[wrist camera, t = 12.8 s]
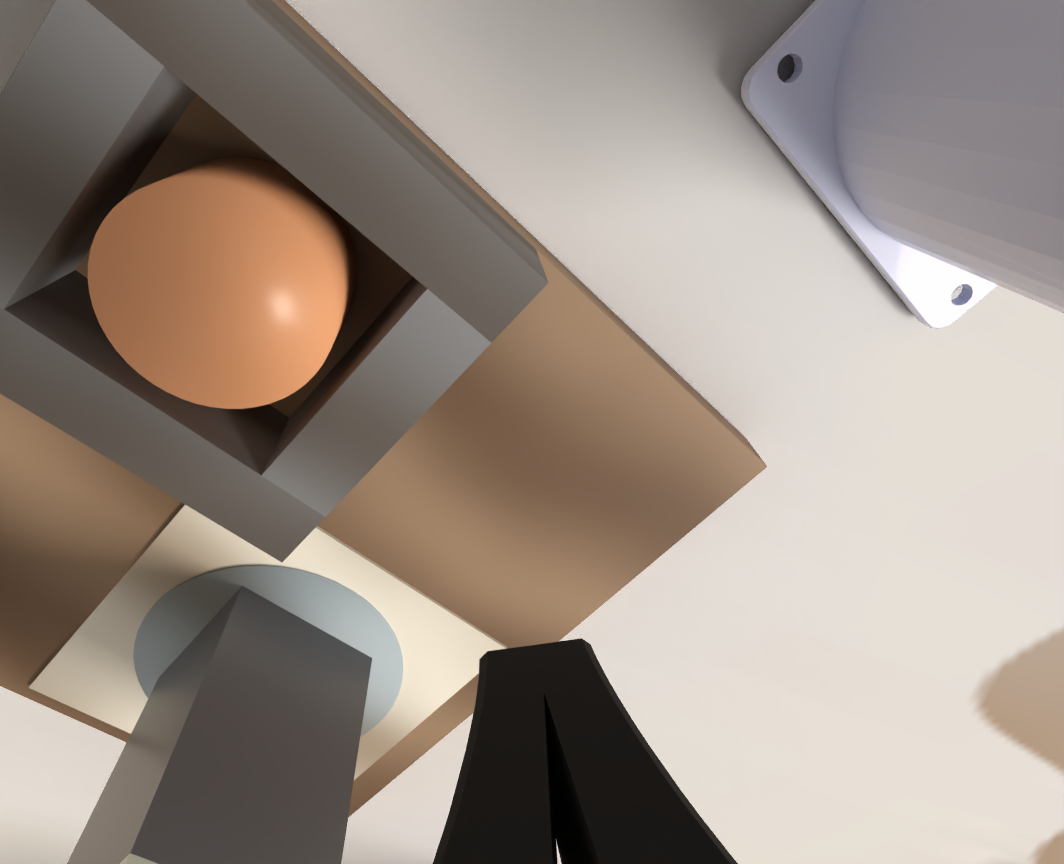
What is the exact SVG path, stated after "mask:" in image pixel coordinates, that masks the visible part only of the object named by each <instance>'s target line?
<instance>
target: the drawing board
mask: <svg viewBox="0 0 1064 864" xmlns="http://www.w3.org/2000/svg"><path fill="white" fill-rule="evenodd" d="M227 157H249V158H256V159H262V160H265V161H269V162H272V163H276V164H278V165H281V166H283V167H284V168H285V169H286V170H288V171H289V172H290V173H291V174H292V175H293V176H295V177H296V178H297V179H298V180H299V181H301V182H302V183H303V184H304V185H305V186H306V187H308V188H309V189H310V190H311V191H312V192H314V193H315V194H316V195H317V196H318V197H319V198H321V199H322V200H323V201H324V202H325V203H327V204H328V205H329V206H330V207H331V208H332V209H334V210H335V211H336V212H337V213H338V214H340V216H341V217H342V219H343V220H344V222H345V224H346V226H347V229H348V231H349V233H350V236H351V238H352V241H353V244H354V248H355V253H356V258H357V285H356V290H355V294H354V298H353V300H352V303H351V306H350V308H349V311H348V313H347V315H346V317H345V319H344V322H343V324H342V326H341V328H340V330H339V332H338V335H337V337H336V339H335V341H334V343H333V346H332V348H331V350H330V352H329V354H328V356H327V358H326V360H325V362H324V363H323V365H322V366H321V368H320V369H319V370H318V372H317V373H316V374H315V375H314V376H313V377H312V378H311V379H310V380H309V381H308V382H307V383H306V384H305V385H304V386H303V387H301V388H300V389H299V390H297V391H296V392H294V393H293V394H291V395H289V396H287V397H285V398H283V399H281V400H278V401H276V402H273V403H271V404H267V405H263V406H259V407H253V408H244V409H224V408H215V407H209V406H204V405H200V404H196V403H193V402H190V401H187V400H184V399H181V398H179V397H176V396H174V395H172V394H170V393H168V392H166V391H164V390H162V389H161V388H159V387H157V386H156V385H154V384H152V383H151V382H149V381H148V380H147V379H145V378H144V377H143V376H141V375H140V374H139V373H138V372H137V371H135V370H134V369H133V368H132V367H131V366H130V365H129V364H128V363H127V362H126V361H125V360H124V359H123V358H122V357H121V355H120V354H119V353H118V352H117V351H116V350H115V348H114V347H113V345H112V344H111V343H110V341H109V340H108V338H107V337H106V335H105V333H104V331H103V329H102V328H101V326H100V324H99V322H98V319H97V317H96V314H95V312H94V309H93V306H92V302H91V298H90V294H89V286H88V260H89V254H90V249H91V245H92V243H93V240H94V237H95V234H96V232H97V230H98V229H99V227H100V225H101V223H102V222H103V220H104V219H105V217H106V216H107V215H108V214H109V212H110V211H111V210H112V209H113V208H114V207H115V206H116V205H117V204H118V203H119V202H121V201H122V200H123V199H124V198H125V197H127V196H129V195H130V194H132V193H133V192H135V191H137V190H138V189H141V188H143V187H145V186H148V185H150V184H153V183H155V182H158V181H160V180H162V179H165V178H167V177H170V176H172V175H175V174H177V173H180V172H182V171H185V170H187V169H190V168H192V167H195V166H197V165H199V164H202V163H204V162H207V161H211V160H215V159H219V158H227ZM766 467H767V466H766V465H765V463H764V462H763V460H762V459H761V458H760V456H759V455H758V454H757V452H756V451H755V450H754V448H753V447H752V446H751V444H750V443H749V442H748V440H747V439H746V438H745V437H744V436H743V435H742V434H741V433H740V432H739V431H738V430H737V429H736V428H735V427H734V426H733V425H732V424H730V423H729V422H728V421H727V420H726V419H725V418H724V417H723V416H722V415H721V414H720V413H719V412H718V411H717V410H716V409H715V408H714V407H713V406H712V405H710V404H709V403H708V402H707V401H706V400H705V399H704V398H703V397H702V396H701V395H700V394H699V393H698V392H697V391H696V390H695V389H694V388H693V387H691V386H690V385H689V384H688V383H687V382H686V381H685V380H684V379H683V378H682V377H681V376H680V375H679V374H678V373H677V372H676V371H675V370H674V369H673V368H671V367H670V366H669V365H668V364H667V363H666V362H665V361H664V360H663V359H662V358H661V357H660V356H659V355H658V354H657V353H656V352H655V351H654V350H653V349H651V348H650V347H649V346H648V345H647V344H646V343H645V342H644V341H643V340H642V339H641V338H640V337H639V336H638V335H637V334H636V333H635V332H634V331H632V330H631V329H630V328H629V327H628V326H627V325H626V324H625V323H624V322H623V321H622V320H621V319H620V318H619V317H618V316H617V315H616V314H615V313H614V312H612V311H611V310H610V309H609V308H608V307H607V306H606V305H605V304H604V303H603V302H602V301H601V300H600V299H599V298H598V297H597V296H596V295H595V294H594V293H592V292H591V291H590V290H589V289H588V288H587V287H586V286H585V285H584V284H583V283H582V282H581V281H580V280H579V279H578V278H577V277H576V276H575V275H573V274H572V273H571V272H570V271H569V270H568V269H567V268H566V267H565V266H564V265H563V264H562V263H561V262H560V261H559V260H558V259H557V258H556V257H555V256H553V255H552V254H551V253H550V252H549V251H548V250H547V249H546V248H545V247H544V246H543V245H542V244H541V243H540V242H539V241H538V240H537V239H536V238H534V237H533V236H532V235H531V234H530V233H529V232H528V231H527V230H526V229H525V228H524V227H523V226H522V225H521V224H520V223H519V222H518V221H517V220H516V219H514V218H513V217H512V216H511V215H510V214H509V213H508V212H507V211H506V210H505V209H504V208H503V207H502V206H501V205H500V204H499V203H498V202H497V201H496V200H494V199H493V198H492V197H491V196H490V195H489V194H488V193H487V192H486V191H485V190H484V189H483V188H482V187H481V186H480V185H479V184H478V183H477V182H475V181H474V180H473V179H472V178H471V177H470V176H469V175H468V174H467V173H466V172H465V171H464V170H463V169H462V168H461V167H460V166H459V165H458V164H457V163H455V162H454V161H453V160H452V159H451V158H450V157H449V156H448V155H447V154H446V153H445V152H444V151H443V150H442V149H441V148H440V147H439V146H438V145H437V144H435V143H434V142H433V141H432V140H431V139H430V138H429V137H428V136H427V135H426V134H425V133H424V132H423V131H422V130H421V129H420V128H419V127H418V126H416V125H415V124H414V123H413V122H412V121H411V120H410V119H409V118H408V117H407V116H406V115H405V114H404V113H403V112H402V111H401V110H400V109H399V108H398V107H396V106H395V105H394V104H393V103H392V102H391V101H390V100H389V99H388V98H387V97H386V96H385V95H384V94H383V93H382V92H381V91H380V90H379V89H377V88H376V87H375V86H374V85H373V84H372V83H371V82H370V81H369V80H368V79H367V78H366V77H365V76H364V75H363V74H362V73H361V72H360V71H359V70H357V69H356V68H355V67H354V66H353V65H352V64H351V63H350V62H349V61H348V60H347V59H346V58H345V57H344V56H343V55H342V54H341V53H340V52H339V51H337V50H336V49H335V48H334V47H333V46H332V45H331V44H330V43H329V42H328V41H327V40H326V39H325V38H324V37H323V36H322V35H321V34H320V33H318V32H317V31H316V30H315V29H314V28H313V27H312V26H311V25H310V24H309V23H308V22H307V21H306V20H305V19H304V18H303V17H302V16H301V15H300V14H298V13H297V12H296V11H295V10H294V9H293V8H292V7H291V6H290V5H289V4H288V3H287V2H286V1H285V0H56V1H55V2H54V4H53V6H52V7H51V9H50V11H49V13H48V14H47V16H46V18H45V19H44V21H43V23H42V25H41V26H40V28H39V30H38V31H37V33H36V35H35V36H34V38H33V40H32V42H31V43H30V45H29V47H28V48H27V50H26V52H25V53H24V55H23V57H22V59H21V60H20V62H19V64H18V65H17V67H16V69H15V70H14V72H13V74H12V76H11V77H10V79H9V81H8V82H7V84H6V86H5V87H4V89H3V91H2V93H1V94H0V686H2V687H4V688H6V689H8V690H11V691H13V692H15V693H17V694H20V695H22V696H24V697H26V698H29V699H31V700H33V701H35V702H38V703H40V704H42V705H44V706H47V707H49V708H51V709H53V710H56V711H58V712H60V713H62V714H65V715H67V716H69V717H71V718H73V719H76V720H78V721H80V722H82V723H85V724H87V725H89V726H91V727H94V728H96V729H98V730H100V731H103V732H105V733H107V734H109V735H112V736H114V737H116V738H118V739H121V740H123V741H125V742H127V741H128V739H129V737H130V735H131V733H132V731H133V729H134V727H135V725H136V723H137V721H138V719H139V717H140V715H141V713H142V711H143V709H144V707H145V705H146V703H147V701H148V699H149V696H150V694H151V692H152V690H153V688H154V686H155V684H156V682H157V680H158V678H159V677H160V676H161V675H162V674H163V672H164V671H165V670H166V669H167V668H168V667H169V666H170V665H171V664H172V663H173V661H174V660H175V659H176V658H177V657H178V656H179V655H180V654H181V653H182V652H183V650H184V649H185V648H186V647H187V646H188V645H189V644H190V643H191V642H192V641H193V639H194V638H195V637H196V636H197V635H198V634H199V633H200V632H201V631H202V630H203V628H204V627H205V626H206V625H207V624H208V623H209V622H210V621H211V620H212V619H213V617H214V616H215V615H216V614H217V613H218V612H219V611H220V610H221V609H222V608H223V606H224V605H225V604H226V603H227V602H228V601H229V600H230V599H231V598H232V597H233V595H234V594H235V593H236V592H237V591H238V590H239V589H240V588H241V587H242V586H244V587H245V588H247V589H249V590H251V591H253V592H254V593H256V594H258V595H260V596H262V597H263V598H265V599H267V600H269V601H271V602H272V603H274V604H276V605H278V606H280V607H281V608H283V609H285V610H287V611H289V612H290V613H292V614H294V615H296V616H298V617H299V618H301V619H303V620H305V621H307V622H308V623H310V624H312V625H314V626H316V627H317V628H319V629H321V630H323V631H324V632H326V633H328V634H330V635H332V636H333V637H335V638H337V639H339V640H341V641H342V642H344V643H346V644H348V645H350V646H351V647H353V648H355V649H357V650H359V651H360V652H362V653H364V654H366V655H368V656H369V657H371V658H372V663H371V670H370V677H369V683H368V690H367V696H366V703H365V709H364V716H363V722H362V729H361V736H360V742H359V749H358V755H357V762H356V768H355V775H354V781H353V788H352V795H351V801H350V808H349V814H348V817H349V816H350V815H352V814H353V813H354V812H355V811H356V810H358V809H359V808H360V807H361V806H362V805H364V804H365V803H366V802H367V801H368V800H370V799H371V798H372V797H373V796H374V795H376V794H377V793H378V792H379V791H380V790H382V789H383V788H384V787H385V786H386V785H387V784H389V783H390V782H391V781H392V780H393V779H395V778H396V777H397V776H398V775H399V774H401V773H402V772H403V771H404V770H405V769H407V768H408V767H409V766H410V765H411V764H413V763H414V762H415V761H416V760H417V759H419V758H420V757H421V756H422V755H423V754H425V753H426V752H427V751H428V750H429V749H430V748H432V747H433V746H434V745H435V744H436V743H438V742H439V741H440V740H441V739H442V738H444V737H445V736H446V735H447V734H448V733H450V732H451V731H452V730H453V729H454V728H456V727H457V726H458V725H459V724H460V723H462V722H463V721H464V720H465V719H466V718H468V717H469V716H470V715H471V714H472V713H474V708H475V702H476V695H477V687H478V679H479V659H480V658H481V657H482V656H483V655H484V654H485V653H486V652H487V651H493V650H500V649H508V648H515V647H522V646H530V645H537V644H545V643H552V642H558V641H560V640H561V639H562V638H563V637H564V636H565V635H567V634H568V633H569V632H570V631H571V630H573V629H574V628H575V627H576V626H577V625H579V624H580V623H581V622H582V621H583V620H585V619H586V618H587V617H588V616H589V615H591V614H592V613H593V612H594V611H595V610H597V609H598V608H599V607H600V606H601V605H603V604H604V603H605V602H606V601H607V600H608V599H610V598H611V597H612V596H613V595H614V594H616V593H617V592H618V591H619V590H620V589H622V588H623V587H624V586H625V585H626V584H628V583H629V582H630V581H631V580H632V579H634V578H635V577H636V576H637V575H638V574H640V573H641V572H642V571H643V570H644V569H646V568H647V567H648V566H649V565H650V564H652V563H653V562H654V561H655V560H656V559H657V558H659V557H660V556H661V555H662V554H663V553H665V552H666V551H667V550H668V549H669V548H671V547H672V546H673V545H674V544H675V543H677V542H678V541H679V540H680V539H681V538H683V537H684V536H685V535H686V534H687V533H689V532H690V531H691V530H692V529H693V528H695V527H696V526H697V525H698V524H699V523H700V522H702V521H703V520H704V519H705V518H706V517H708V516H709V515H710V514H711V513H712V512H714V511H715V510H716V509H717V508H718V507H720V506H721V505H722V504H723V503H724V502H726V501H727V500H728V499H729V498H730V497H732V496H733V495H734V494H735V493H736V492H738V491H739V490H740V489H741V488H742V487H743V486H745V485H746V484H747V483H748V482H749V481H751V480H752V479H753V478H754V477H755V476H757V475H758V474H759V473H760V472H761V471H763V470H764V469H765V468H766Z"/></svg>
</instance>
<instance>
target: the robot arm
mask: <svg viewBox="0 0 1064 864" xmlns="http://www.w3.org/2000/svg"><path fill="white" fill-rule="evenodd" d="M787 54H789V55H790V56H791V57H793V60H794V62H795V68H794V72H793V74H792V76H791V77H790V78H789V79H788V80H786V81H785V82H783V81H782V80H780V79H779V76H778V74H777V69H778V64H779V62H780V61H781V59H782V58H783V57H784V56H786V55H787ZM741 97H742V100H743V102H744V104H745V106H746V108H747V109H748V110H749V111H750V113H751V114H752V115H753V116H754V118H755V119H756V120H757V121H758V123H759V124H760V125H761V126H762V128H763V129H764V130H765V131H766V132H767V134H768V135H769V136H770V137H771V139H772V140H773V141H774V142H775V144H776V145H777V146H778V147H779V149H780V150H781V151H782V152H783V153H784V155H785V156H786V157H787V158H788V160H789V161H790V162H791V163H792V165H793V166H794V167H795V168H796V170H797V171H798V172H799V173H800V174H801V176H802V177H803V178H804V179H805V181H806V182H807V183H808V184H809V186H810V187H811V188H812V189H813V191H814V192H815V193H816V194H817V195H818V197H819V198H820V199H821V200H822V202H823V203H824V204H825V205H826V207H827V208H828V209H829V210H830V212H831V213H832V214H833V215H834V216H835V218H836V219H837V220H838V221H839V223H840V224H841V225H842V226H843V228H844V229H845V230H846V231H847V233H848V234H849V235H850V236H851V238H852V239H853V240H854V241H855V242H856V244H857V245H858V246H859V247H860V249H861V250H862V251H863V252H864V254H865V255H866V256H867V257H868V259H869V260H870V261H871V262H872V263H873V265H874V266H875V267H876V268H877V270H878V271H879V272H880V273H881V275H882V276H883V277H884V278H885V280H886V281H887V282H888V283H889V284H890V286H891V287H892V288H893V289H894V291H895V292H896V293H897V294H898V296H899V297H900V298H901V299H902V301H903V302H904V303H905V304H906V305H907V307H908V308H909V309H910V310H911V312H912V313H913V314H914V315H915V317H916V318H917V319H918V320H919V321H920V322H922V323H923V324H925V325H926V326H928V327H930V328H934V329H940V328H944V327H947V326H948V325H950V324H952V323H953V322H954V321H956V320H957V319H958V318H959V317H960V316H962V315H963V314H964V313H965V312H966V311H968V310H969V309H970V308H971V307H972V306H974V305H975V304H976V303H977V302H978V301H980V300H981V299H982V298H983V297H985V296H986V295H987V294H988V293H989V292H991V291H992V290H993V289H994V288H995V287H997V286H998V285H999V286H1002V287H1004V288H1006V289H1009V290H1011V291H1014V292H1016V293H1018V294H1021V295H1023V296H1025V297H1028V298H1030V299H1032V300H1035V301H1037V302H1039V303H1042V304H1044V305H1046V306H1049V307H1051V308H1053V309H1056V310H1058V311H1060V312H1063V313H1064V0H815V1H814V2H813V3H812V4H811V5H810V6H809V7H808V8H807V9H806V10H805V12H804V13H803V14H802V15H801V16H800V17H799V18H798V19H797V20H796V21H795V22H794V23H793V24H792V25H791V26H790V27H789V28H788V29H787V30H786V31H785V33H784V34H783V35H782V36H781V37H780V38H779V39H778V40H777V41H776V42H775V43H774V44H773V45H772V46H771V47H770V48H769V49H768V50H767V51H766V53H765V54H764V55H763V56H762V57H761V58H760V59H759V60H758V61H757V62H756V63H755V64H754V65H753V66H752V67H751V68H750V69H749V71H748V72H747V74H746V75H745V77H744V79H743V82H742V86H741ZM960 285H962V286H963V288H962V291H961V293H960V295H959V296H958V297H957V298H955V299H953V300H951V295H952V292H953V291H954V290H955V288H956V287H958V286H960ZM556 841H557V845H558V849H559V854H560V858H561V862H562V864H738V863H737V862H736V861H735V860H734V859H733V857H732V856H731V855H730V854H729V852H728V851H727V850H726V849H725V847H724V846H723V845H722V843H721V842H720V841H719V840H718V838H717V837H716V836H715V835H714V833H713V832H712V831H711V830H710V828H709V827H708V826H707V824H706V823H705V822H704V821H703V819H702V818H701V817H700V816H699V814H698V813H697V812H696V810H695V809H694V807H693V806H692V805H691V803H690V802H689V801H688V799H687V798H686V797H685V795H684V794H683V793H682V791H681V790H680V789H679V787H678V786H677V784H676V783H675V782H674V780H673V779H672V777H671V776H670V775H669V773H668V772H667V770H666V769H665V767H664V766H663V765H662V763H661V762H660V760H659V759H658V757H657V756H656V755H655V753H654V752H653V750H652V749H651V748H650V746H649V745H648V743H647V742H646V740H645V739H644V737H643V736H642V734H641V733H640V731H639V730H638V728H637V727H636V725H635V723H634V722H633V720H632V719H631V717H630V715H629V714H628V712H627V711H626V709H625V707H624V706H623V704H622V703H621V701H620V699H619V698H618V696H617V694H616V693H615V691H614V689H613V687H612V686H611V684H610V682H609V680H608V679H607V677H606V675H605V673H604V671H603V669H602V667H601V666H600V664H599V662H598V660H597V658H596V656H595V654H594V651H593V649H592V647H591V645H590V644H589V643H588V642H586V641H585V640H583V639H575V640H567V641H560V642H552V643H545V644H537V645H530V646H522V647H515V648H508V649H500V650H493V651H487V652H486V653H485V654H484V655H483V656H482V657H481V658H480V659H479V679H478V687H477V695H476V702H475V708H474V714H473V719H472V724H471V729H470V733H469V738H468V743H467V747H466V752H465V755H464V759H463V763H462V767H461V771H460V774H459V778H458V782H457V786H456V789H455V793H454V797H453V801H452V805H451V808H450V812H449V815H448V818H447V822H446V825H445V828H444V831H443V834H442V837H441V840H440V843H439V846H438V849H437V852H436V856H435V859H434V862H433V864H557V849H556Z"/></svg>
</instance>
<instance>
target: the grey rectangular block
mask: <svg viewBox="0 0 1064 864" xmlns="http://www.w3.org/2000/svg"><path fill="white" fill-rule="evenodd" d="M371 663H372V658H371V657H369V656H368V655H366V654H364V653H362V652H360V651H359V650H357V649H355V648H353V647H351V646H350V645H348V644H346V643H344V642H342V641H341V640H339V639H337V638H335V637H333V636H332V635H330V634H328V633H326V632H324V631H323V630H321V629H319V628H317V627H316V626H314V625H312V624H310V623H308V622H307V621H305V620H303V619H301V618H299V617H298V616H296V615H294V614H292V613H290V612H289V611H287V610H285V609H283V608H281V607H280V606H278V605H276V604H274V603H272V602H271V601H269V600H267V599H265V598H263V597H262V596H260V595H258V594H256V593H254V592H253V591H251V590H249V589H247V588H245V587H244V586H242V587H241V588H240V589H239V590H238V591H237V592H236V593H235V594H234V595H233V597H232V598H231V599H230V600H229V601H228V602H227V603H226V604H225V605H224V606H223V608H222V609H221V610H220V611H219V612H218V613H217V614H216V615H215V616H214V617H213V619H212V620H211V621H210V622H209V623H208V624H207V625H206V626H205V627H204V628H203V630H202V631H201V632H200V633H199V634H198V635H197V636H196V637H195V638H194V639H193V641H192V642H191V643H190V644H189V645H188V646H187V647H186V648H185V649H184V650H183V652H182V653H181V654H180V655H179V656H178V657H177V658H176V659H175V660H174V661H173V663H172V664H171V665H170V666H169V667H168V668H167V669H166V670H165V671H164V672H163V674H162V675H161V676H160V677H159V678H158V680H157V682H156V684H155V686H154V688H153V690H152V692H151V694H150V696H149V699H148V701H147V703H146V705H145V707H144V709H143V711H142V713H141V715H140V717H139V719H138V721H137V723H136V725H135V727H134V729H133V731H132V733H131V735H130V737H129V739H128V741H127V743H126V745H125V747H124V749H123V751H122V753H121V755H120V757H119V760H118V762H117V764H116V766H115V768H114V770H113V772H112V774H111V776H110V778H109V780H108V782H107V784H106V786H105V788H104V790H103V792H102V794H101V796H100V798H99V800H98V802H97V804H96V806H95V808H94V810H93V812H92V814H91V816H90V818H89V821H88V823H87V825H86V827H85V829H84V831H83V833H82V835H81V837H80V839H79V841H78V843H77V845H76V847H75V849H74V851H73V853H72V855H71V857H70V859H69V861H68V863H67V864H341V860H342V854H343V847H344V841H345V834H346V827H347V821H348V814H349V808H350V801H351V795H352V788H353V781H354V775H355V768H356V762H357V755H358V749H359V742H360V736H361V729H362V722H363V716H364V709H365V703H366V696H367V690H368V683H369V677H370V670H371Z"/></svg>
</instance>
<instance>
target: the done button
mask: <svg viewBox="0 0 1064 864" xmlns="http://www.w3.org/2000/svg"><path fill="white" fill-rule="evenodd" d="M356 285H357V258H356V253H355V248H354V244H353V241H352V238H351V236H350V233H349V231H348V229H347V226H346V224H345V222H344V220H343V219H342V217H341V216H340V214H338V213H337V212H336V211H335V210H334V209H332V208H331V207H330V206H329V205H328V204H327V203H325V202H324V201H323V200H322V199H321V198H319V197H318V196H317V195H316V194H315V193H314V192H312V191H311V190H310V189H309V188H308V187H306V186H305V185H304V184H303V183H302V182H301V181H299V180H298V179H297V178H296V177H295V176H293V175H292V174H291V173H290V172H289V171H288V170H286V169H285V168H284V167H283V166H281V165H278V164H276V163H272V162H269V161H265V160H262V159H256V158H249V157H227V158H219V159H215V160H211V161H207V162H204V163H202V164H199V165H197V166H195V167H192V168H190V169H187V170H185V171H182V172H180V173H177V174H175V175H172V176H170V177H167V178H165V179H162V180H160V181H158V182H155V183H153V184H150V185H148V186H145V187H143V188H141V189H138V190H137V191H135V192H133V193H132V194H130V195H129V196H127V197H125V198H124V199H123V200H122V201H121V202H119V203H118V204H117V205H116V206H115V207H114V208H113V209H112V210H111V211H110V212H109V214H108V215H107V216H106V217H105V219H104V220H103V222H102V223H101V225H100V227H99V229H98V230H97V232H96V234H95V237H94V240H93V243H92V245H91V249H90V254H89V260H88V286H89V294H90V298H91V302H92V306H93V309H94V312H95V314H96V317H97V319H98V322H99V324H100V326H101V328H102V329H103V331H104V333H105V335H106V337H107V338H108V340H109V341H110V343H111V344H112V345H113V347H114V348H115V350H116V351H117V352H118V353H119V354H120V355H121V357H122V358H123V359H124V360H125V361H126V362H127V363H128V364H129V365H130V366H131V367H132V368H133V369H134V370H135V371H137V372H138V373H139V374H140V375H141V376H143V377H144V378H145V379H147V380H148V381H149V382H151V383H152V384H154V385H156V386H157V387H159V388H161V389H162V390H164V391H166V392H168V393H170V394H172V395H174V396H176V397H179V398H181V399H184V400H187V401H190V402H193V403H196V404H200V405H204V406H209V407H215V408H224V409H244V408H253V407H259V406H263V405H267V404H271V403H273V402H276V401H278V400H281V399H283V398H285V397H287V396H289V395H291V394H293V393H294V392H296V391H297V390H299V389H300V388H301V387H303V386H304V385H305V384H306V383H307V382H308V381H309V380H310V379H311V378H312V377H313V376H314V375H315V374H316V373H317V372H318V370H319V369H320V368H321V366H322V365H323V363H324V362H325V360H326V358H327V356H328V354H329V352H330V350H331V348H332V346H333V343H334V341H335V339H336V337H337V335H338V332H339V330H340V328H341V326H342V324H343V322H344V319H345V317H346V315H347V313H348V311H349V308H350V306H351V303H352V300H353V298H354V294H355V290H356Z"/></svg>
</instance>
